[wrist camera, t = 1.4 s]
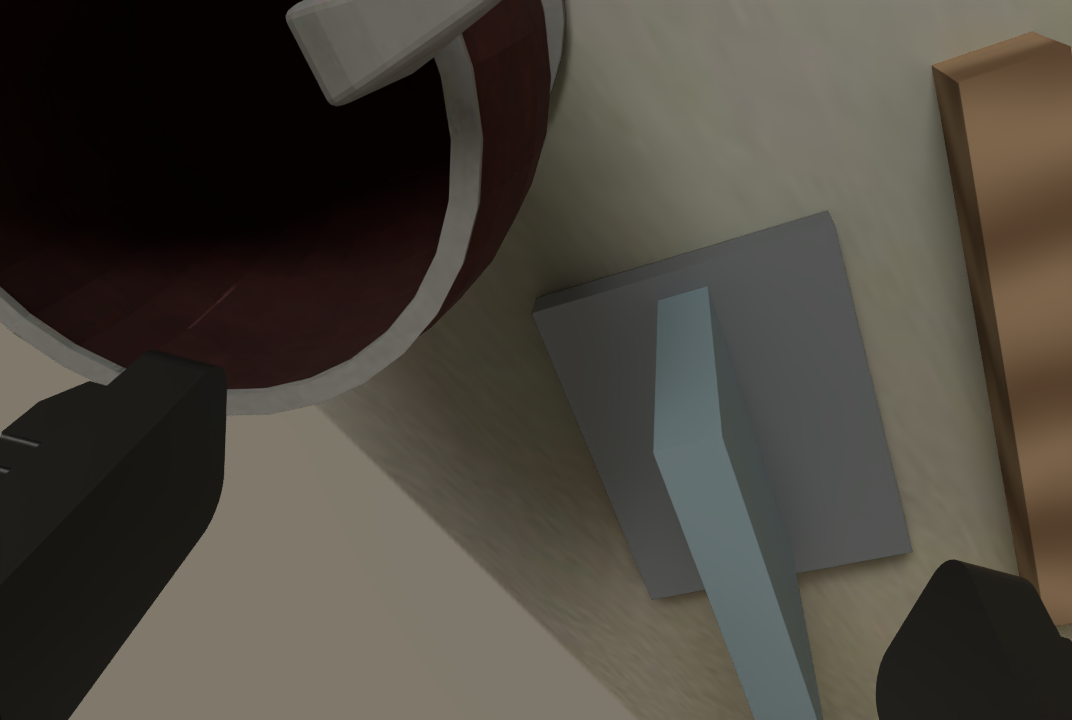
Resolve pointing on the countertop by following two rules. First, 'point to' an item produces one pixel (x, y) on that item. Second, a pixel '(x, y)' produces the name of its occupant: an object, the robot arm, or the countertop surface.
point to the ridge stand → (735, 434)
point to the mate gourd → (261, 178)
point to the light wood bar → (1021, 279)
